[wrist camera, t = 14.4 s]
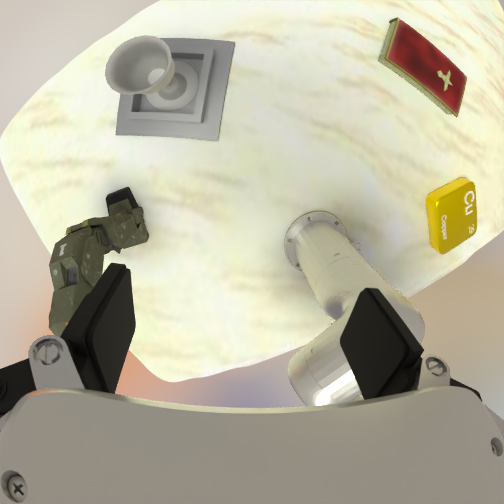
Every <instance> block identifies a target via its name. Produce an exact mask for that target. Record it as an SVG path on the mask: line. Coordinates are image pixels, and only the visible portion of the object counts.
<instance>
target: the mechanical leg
mask: <svg viewBox="0 0 504 504" xmlns="http://www.w3.org/2000/svg"><path fill="white" fill-rule="evenodd" d="M106 202H107V208H108V213H109V216H107V217H102V218H91V219H87V220H85V221H83V222H82V223H80V224H77V225H74V226H71V227H69V228H67V231H66V234H68V235H67V236H65V237H64V238H62V239H61V240H60V241H58V242H57V243H56V244H55V246H54V250H53V253H52V257H51V260H50V264H49V266H50V272H51V277H52V282H53V286H54V290H55V291H54V292H53V298H52V304H51V311H50V314H49V328H50V330H51V331H52V332H53V334H54V335H55V336H58V337H60V336H61V334H62V332H63V331H64V329H65V327H66V326H67V324H68V322H69V321H70V319H71V317H72V316H73V314H74V313H75V311H76V310H77V308H78V306H79V305H80V303H81V302H82V300H83V299H84V297H85V296H86V295H87V294H88V293H90V292H91V291H92V289H93V288H94V286H95V285H96V283H97V282H98V280H99V279H100V277H101V276H102V271H103V261H104V254H107V253H109V252H110V251H112V250H115V251H116V252H117V253H120V251H121V249H122V248H123V249H125V248H128V247H131V246H135V245H138V244H141V243H144V242H147V240H148V237H149V235H148V233H147V230H146V227H145V225H144V220H143V217H142V213H143V211H142V208H141V207H138V205H137V203H136V200H135V198H134V196H133V194H132V192H131V190H130V188H129V187H126V188H123V189H121V190H118V191H116V192H113V193H111V194H108V195H107V197H106ZM137 207H138V208H137Z"/></svg>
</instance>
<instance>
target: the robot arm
mask: <svg viewBox="0 0 504 504" xmlns="http://www.w3.org/2000/svg"><path fill="white" fill-rule="evenodd" d="M308 217H310V218H309V219H308ZM289 239H290V240H289ZM284 247H285V252H286V255H287V258H288V259H289V261H290V262H291V264H292V265H293V266H294V267H295V268H297V269H299V270H301V271H303V272H304V274H305V276H306V278H307V280H308V283H309V285H310V287H311V289H312V291H313V293H314V295H315V297H316V299H317V301H318V303H319V305H320V307H321V309H322V310H323V311H324V312H325V313H326V314H327V315H328V316H330V317H331V318H333V319H335V320H336V321H335V322H334V323H332V324H331V326H330V327H328V328H327V329H326V330H325V331H324V332H322V333H321V334H320V335H319V336H317V337H316V338H315V339H313V340H312V341H311V342H310V343H308V344H307V345H306V346H305V347H303V348H302V349H301V350H300V351H298V352H297V353H296V354H295V355H294V356H293V358H292V359H291V360H290V363H289V365H288V377H289V380H290V383H291V385H292V387H293V389H294V391H295V392H296V394H297V395H298V397H299V398H300V399H301V400H302V402H303V403H304V404H305V405H306V406H305V407H288V408H227V407H209V406H197V405H186V404H177V403H169V402H161V401H153V400H147V399H140V398H134V397H129V396H123V395H118V394H115V390H116V387H117V384H118V380H119V377H120V374H121V371H122V368H123V364H124V361H125V358H126V355H127V352H128V349H129V346H130V343H131V341H132V338H133V335H134V332H135V327H136V322H135V314H134V305H133V295H132V284H131V272H130V269H127V268H126V265H125V264H117V263H111V264H110V265H109V266H108V267H107V269H106V270H105V272H104V273H103V275H102V276H101V277H100V279H99V280H98V282H97V283H96V285H95V286H94V288H93V289H92V291H91V292H90V293H88V294H87V295H86V296H85V297H84V299H83V300H82V302H81V303H80V305H79V306H78V308H77V310H76V311H75V313H74V314H73V316H72V317H71V319H70V321H69V322H68V324H67V326H66V327H65V329H64V331H63V332H62V334H61V336H60V337H58V336H54V335H47V336H43V337H41V338H38V339H37V340H36V341H34V342H33V344H32V345H31V346H30V349H29V358H28V359H26V360H23V361H20V362H18V363H15V364H12V365H10V366H7V367H4V368H2V369H0V504H504V420H502V419H501V418H500V417H499V416H498V415H496V414H495V413H494V412H493V411H492V410H490V409H489V408H488V407H487V406H486V405H484V404H483V403H482V399H481V397H480V394H479V392H477V391H476V390H474V389H472V388H470V387H468V386H466V385H464V384H462V383H460V382H458V381H456V380H454V379H452V377H451V376H450V369H449V367H448V365H447V363H446V362H445V361H444V360H443V359H442V358H440V357H438V356H436V355H432V354H429V355H426V356H424V357H423V359H422V358H421V357H420V356H421V354H422V353H423V351H424V349H423V348H422V346H421V345H420V344H421V342H422V340H423V337H424V333H425V325H424V321H423V318H422V316H421V314H420V312H419V311H418V310H417V308H416V307H415V306H414V305H413V304H412V303H411V302H410V301H409V300H408V299H407V298H406V297H405V296H403V295H402V294H401V293H399V292H398V291H397V290H395V289H394V288H393V287H392V286H390V285H389V284H388V283H387V282H386V281H385V280H384V279H383V278H382V277H381V276H380V275H379V274H378V273H377V272H376V271H375V270H374V269H373V268H372V267H371V266H370V265H369V263H368V262H367V261H366V260H365V259H364V258H363V257H362V256H361V254H359V252H358V251H357V250H359V249H360V244H358V243H351V242H350V241H349V240H348V239H347V234H346V230H345V228H344V226H343V224H342V223H341V222H340V220H338V219H337V218H336V217H335V216H333V215H332V214H329V213H326V212H312V213H308V214H306V215H303V216H302V217H300V218H299V219H297V220H296V221H295V222H294V223H293V224H292V225H291V227H290V228H289V230H288V232H287V234H286V237H285V244H284ZM361 394H362V396H363V398H360V397H358V396H359V395H361Z"/></svg>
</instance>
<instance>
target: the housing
mask: <svg viewBox="0 0 504 504" xmlns="http://www.w3.org/2000/svg"><path fill="white" fill-rule="evenodd" d="M159 39H161V40H163V41H164V42H165V43H166V44H167V45H168V46H169V49H170V52H171V58H172V59H173V60H174V64H175V72H176V73H180V74H181V75H183V76H184V77H185V79H186V81H187V88H186V91H185V93H184V94H183V95H182V96H181V97H179V98H178V99H175V100H165V99H163V98H161V97H160V96H159V94H158V92H155V93H152V94H145V95H144V94H131V95H128V94H121V95H120V101H119V109H118V117H117V126H116V135H135V136H161V137H177V138H190V139H201V140H211V141H218V135H219V128H220V122H221V116H222V110H223V104H224V98H225V92H226V86H227V81H228V76H229V70H230V65H231V60H232V55H233V50H234V45H235V42H230V41H221V40H209V39H190V38H159Z"/></svg>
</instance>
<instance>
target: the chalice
mask: <svg viewBox="0 0 504 504" xmlns="http://www.w3.org/2000/svg"><path fill="white" fill-rule="evenodd" d="M105 76H106V80H107V83H108V84H109V85H110V87H111V88H112V89H113V90H115V91H117V92H119V93H121V94H128V95H131V94H144V95H145V94H152V93H155V92H158V94H159V96H160V97H161V98H163V99H165V100H175V99H178V98H179V97H181V96H182V95H183V94H184V93H185V91H186V88H187V81H186V79H185V77H184V76H183V75H181V74H180V73H176V72H175V64H174V60H173V59H172V58H171V52H170V49H169V46H168V45H167V44H166V43H165V42H164V41H163V40H161V39H159V38H157V37H154V36H140V37H135V38H132V39H130V40H128V41H126V42H124V43H123V44H122V45H120V46H119V47H118V48H116V50H115V51H114V52H113V53H112V55H111V56H110V58H109V60H108V62H107V65H106V71H105Z"/></svg>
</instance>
